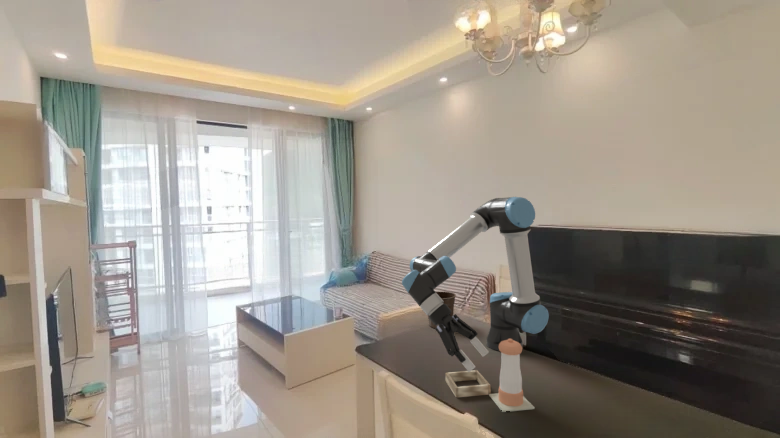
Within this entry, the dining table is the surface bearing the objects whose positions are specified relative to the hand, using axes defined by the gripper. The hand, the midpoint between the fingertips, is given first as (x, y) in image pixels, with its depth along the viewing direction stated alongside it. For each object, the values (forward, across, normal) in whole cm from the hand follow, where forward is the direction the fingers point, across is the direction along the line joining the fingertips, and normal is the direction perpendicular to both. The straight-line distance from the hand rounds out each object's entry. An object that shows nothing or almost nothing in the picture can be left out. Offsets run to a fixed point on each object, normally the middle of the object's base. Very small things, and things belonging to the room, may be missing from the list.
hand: (479, 361), depth 121 cm
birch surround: (+4, -2, -11) cm, 12 cm away
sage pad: (+14, 0, -1) cm, 14 cm away
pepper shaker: (+14, 0, 0) cm, 14 cm away
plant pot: (-21, -60, -37) cm, 73 cm away
